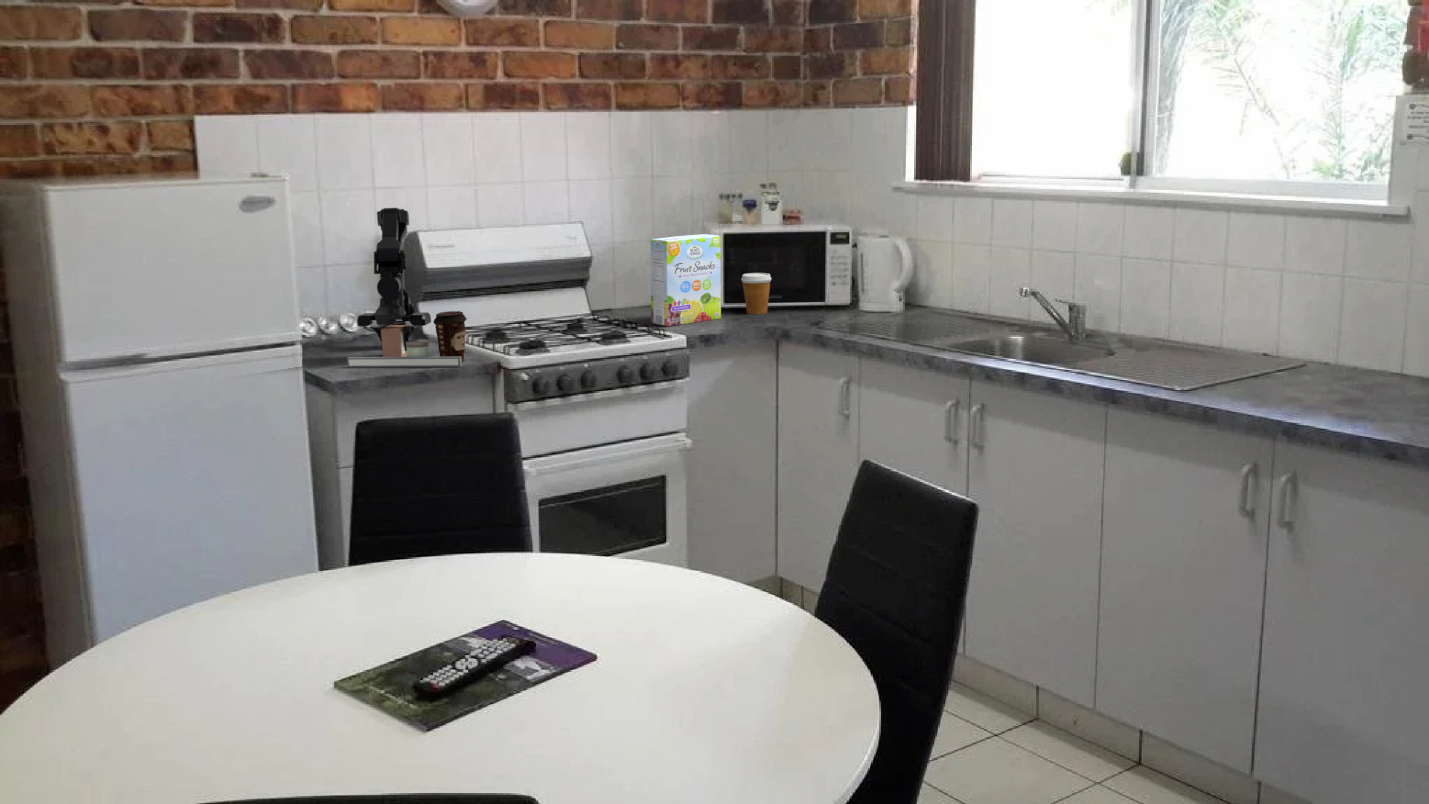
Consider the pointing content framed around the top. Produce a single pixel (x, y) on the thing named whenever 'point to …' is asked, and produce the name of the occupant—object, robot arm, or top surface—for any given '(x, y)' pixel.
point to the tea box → (393, 341)
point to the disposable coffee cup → (756, 292)
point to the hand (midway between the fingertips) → (396, 351)
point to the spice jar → (417, 348)
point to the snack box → (685, 279)
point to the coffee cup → (451, 333)
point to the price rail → (405, 361)
